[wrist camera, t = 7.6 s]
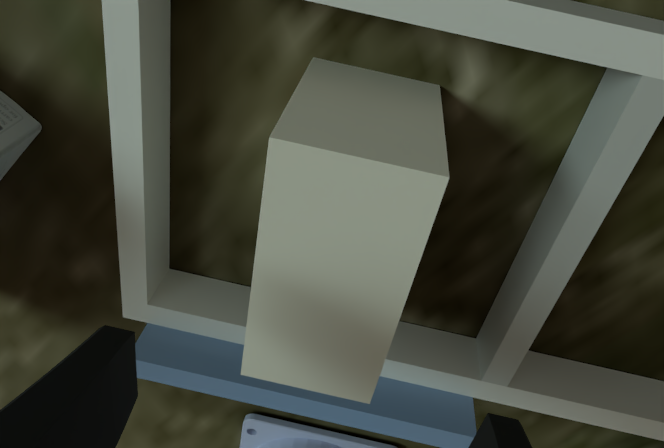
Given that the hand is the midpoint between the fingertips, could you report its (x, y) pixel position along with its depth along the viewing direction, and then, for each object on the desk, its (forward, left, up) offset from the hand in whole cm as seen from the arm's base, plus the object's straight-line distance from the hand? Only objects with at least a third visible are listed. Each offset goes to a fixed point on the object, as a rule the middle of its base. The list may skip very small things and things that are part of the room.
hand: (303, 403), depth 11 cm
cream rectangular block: (0, 0, -10) cm, 10 cm away
